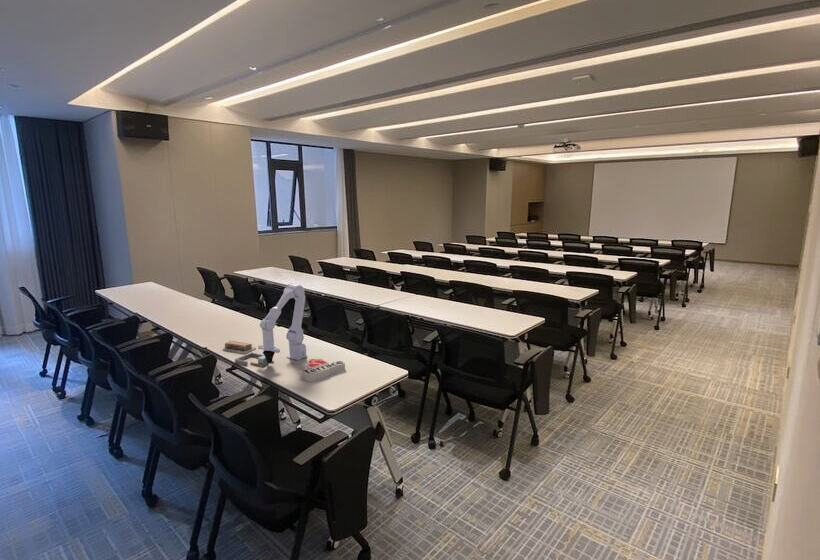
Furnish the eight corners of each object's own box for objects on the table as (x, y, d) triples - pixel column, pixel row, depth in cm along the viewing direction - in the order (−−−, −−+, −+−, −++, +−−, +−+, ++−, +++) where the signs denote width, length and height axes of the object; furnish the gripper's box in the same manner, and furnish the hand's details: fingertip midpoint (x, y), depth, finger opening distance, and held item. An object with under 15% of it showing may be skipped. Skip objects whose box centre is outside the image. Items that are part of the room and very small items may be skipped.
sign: (307, 376, 213) (289, 364, 228) (307, 383, 214) (289, 371, 229) (347, 363, 230) (327, 353, 244) (347, 370, 231) (328, 360, 245)
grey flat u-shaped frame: (263, 358, 247) (263, 354, 247) (246, 365, 236) (246, 362, 236) (252, 355, 251) (251, 352, 251) (235, 362, 240) (234, 359, 240)
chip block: (268, 363, 240) (268, 356, 239) (263, 365, 236) (262, 359, 235) (263, 362, 241) (263, 355, 241) (258, 364, 238) (257, 357, 237)
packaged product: (221, 343, 259) (233, 338, 268) (222, 351, 260) (234, 345, 269) (244, 347, 253) (255, 342, 262) (245, 354, 253) (256, 349, 263)
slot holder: (273, 362, 240) (273, 360, 240) (263, 367, 233) (263, 365, 233) (261, 359, 245) (261, 358, 245) (250, 364, 238) (250, 362, 238)
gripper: (253, 340, 233) (254, 362, 236) (272, 344, 227) (274, 367, 229) (262, 336, 239) (264, 358, 242) (282, 340, 233) (283, 363, 236)
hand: (269, 362), depth 236 cm, fingers closed
